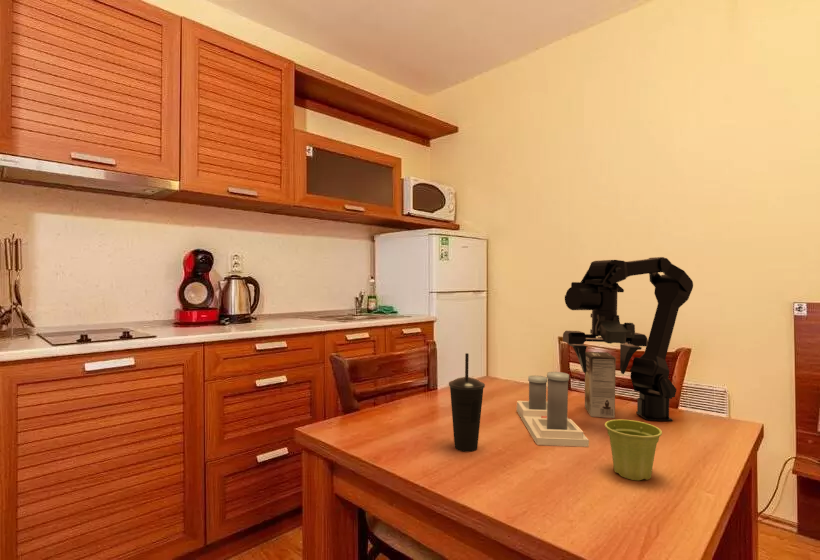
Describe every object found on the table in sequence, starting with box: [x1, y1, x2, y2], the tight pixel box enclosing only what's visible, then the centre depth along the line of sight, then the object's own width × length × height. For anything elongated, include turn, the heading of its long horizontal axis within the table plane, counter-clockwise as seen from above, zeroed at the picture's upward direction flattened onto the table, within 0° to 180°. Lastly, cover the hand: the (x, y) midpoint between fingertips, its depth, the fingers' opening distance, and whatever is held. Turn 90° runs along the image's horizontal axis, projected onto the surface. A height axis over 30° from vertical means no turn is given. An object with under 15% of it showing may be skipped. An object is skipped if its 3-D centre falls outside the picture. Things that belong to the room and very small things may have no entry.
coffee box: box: [584, 351, 617, 419], centre depth 119 cm, size 9×6×16 cm
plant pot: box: [604, 418, 663, 482], centre depth 80 cm, size 9×9×9 cm
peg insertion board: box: [516, 374, 590, 448], centre depth 106 cm, size 11×25×10 cm, turn 176°
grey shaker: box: [546, 371, 570, 430], centre depth 99 cm, size 5×5×13 cm
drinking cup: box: [448, 352, 486, 453], centre depth 92 cm, size 8×8×20 cm
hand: (603, 373), depth 108 cm, fingers open, 9 cm apart
